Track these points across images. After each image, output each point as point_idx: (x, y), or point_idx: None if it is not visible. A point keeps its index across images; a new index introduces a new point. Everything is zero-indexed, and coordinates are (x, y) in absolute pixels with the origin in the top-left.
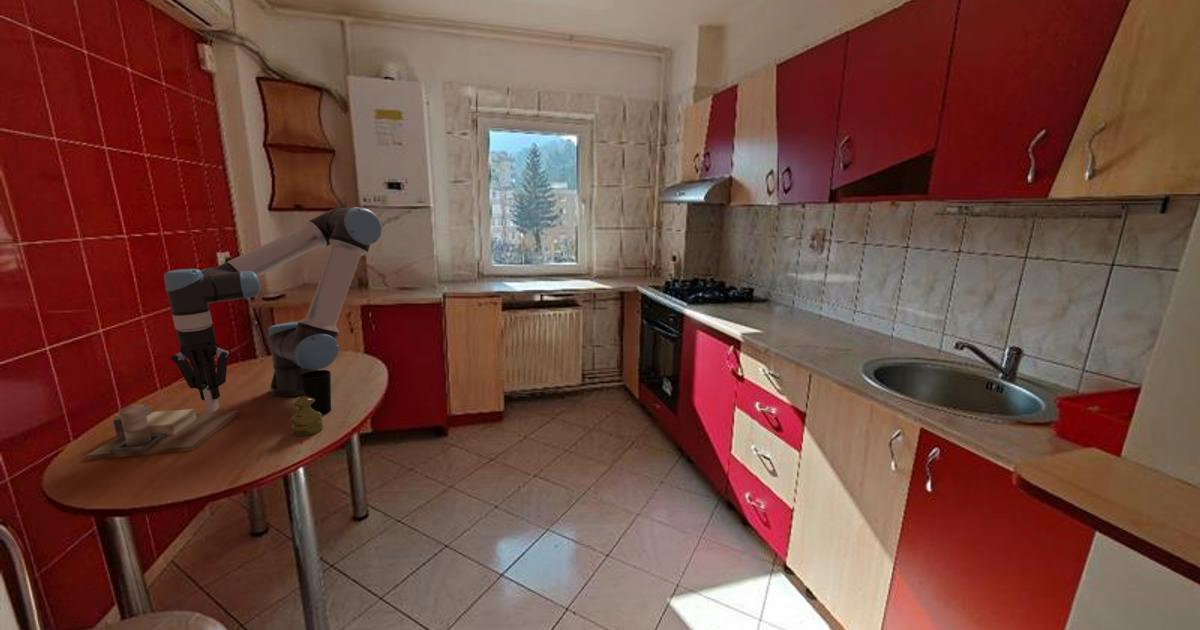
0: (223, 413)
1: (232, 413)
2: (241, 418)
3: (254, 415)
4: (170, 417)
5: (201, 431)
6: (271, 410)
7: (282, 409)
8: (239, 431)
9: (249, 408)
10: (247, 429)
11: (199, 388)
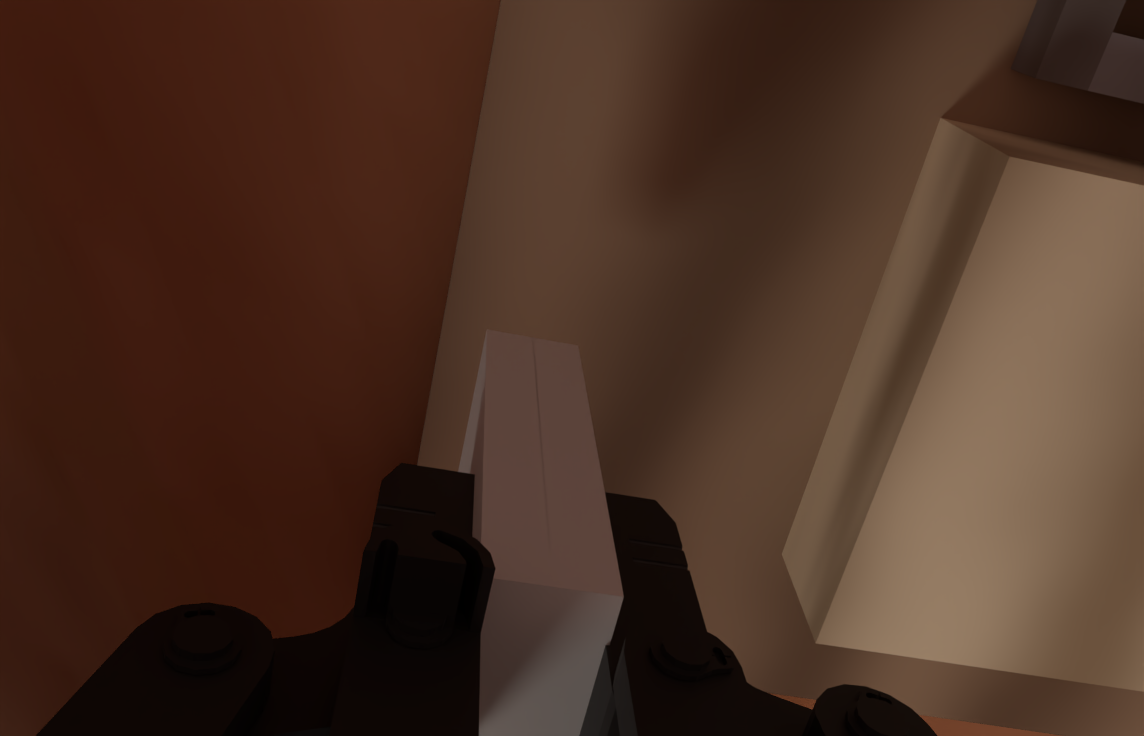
0: None
1: None
2: (314, 471)
3: (189, 508)
4: (1059, 446)
5: (626, 88)
6: (41, 589)
7: None
8: (170, 20)
9: None
10: (84, 51)
11: (693, 644)
